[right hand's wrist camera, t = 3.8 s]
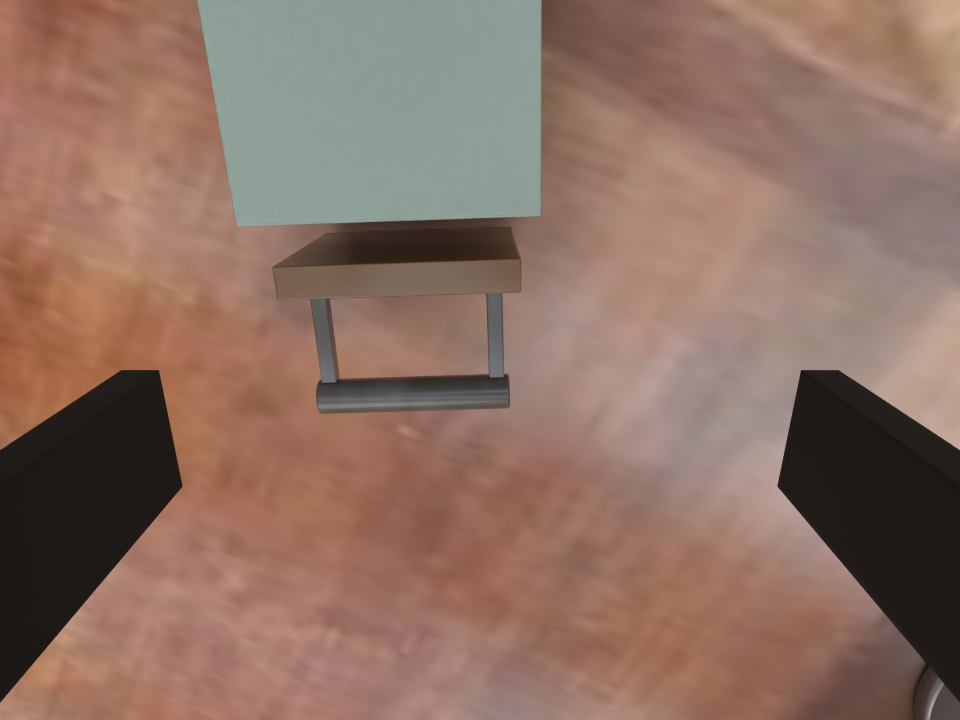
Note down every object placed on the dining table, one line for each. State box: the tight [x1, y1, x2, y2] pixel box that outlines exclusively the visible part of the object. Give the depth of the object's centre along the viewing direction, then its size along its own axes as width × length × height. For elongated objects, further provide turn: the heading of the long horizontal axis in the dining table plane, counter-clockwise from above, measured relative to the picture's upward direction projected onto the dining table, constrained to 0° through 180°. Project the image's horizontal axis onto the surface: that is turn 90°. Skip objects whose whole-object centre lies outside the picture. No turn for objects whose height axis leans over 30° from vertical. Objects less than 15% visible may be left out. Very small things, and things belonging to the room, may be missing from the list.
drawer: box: [273, 227, 521, 414], centre depth 22 cm, size 25×8×8 cm, turn 2°
